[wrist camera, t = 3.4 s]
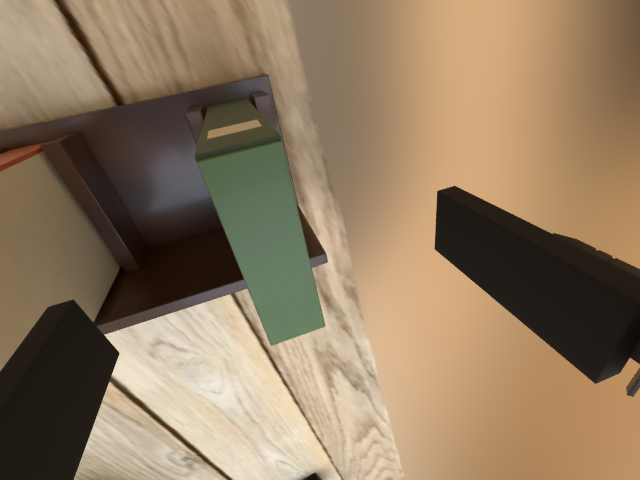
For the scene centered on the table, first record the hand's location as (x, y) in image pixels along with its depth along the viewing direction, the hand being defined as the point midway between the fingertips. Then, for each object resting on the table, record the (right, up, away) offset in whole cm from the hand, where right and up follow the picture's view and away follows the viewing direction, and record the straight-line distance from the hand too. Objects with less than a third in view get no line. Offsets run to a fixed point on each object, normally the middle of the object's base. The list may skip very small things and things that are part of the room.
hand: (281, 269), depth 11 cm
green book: (-4, +7, +12) cm, 14 cm away
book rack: (-10, +6, +12) cm, 17 cm away
